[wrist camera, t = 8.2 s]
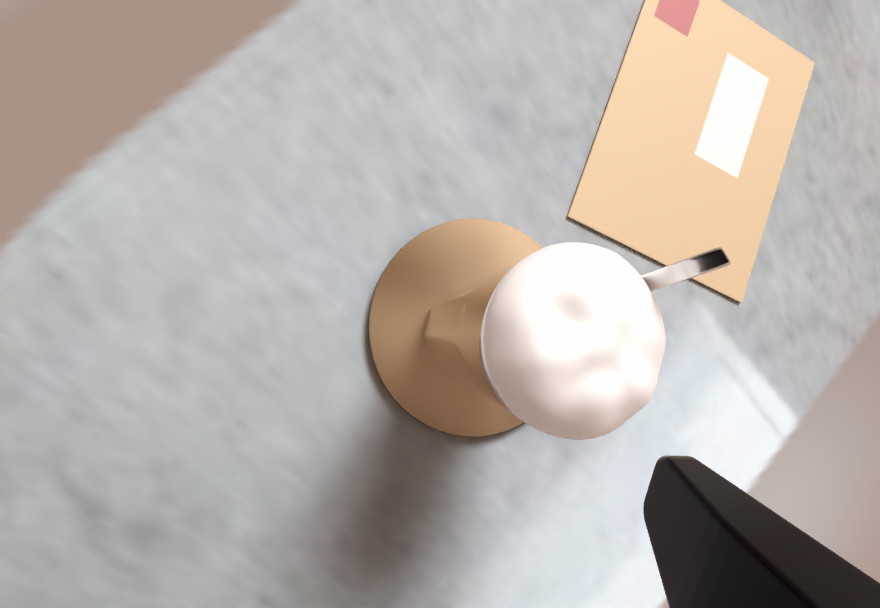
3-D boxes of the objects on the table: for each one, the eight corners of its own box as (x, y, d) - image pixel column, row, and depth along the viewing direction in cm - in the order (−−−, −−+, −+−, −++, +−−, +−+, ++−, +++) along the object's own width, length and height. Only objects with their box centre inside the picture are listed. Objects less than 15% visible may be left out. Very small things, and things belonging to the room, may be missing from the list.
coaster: (530, 462, 22) (534, 465, 22) (334, 391, 20) (335, 392, 20) (596, 271, 23) (602, 270, 23) (417, 185, 21) (419, 182, 21)
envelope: (740, 302, 25) (741, 302, 25) (566, 216, 23) (568, 215, 23) (812, 63, 27) (815, 62, 27) (658, -39, 25) (660, -40, 25)
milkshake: (560, 335, 22) (780, 341, 13) (452, 423, 21) (607, 504, 11) (494, 236, 22) (673, 165, 12) (379, 321, 20) (478, 316, 11)
